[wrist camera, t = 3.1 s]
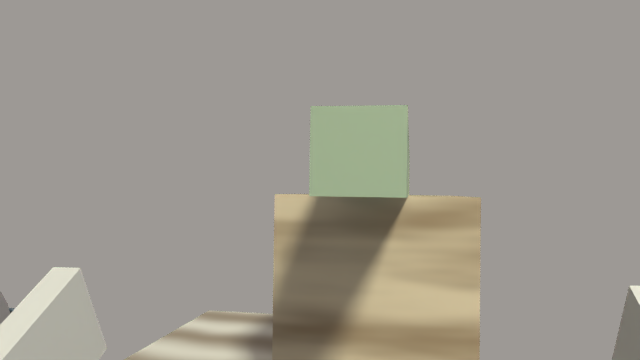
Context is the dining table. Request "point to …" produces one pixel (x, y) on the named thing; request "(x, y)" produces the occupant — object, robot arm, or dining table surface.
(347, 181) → the green block
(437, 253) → the stand
